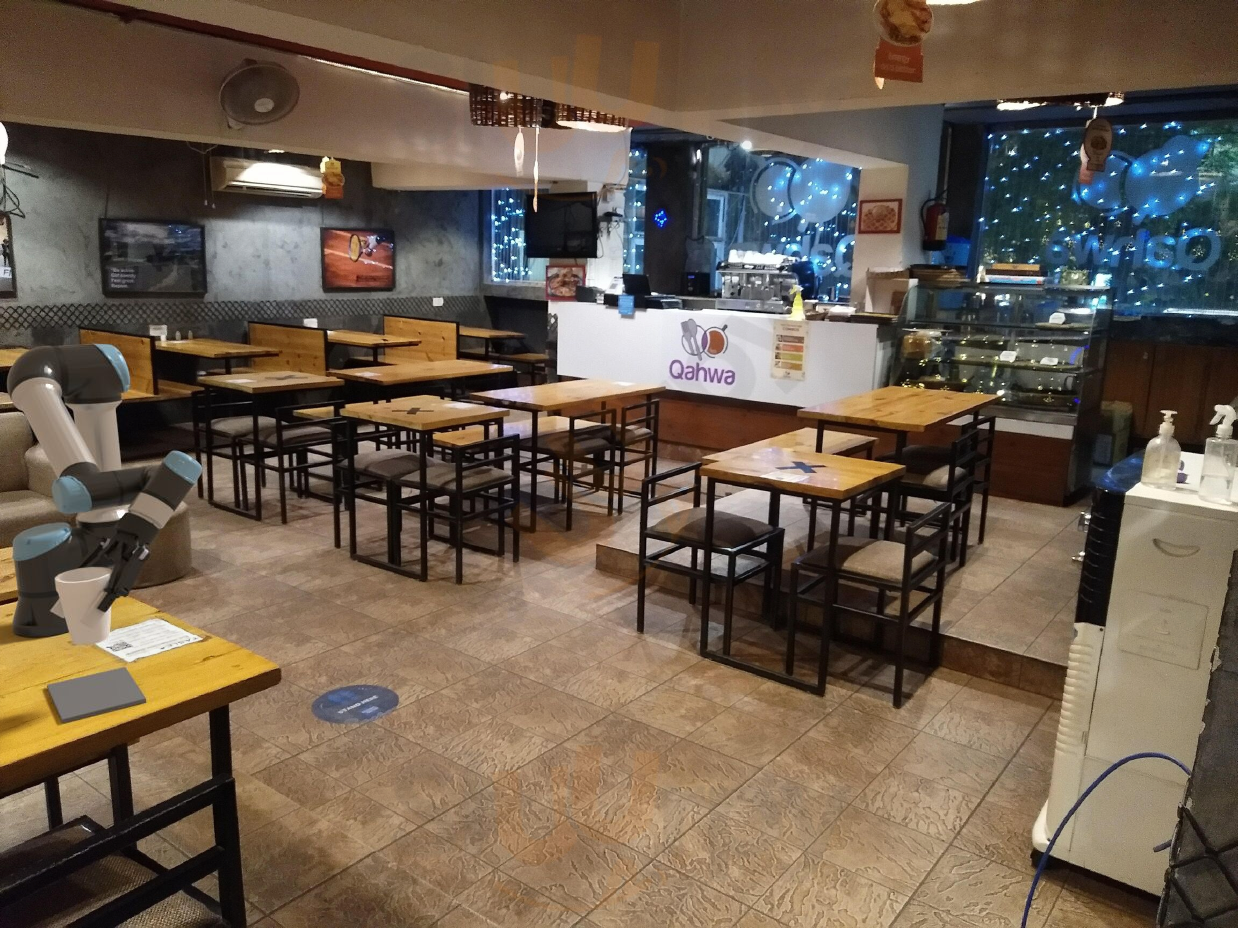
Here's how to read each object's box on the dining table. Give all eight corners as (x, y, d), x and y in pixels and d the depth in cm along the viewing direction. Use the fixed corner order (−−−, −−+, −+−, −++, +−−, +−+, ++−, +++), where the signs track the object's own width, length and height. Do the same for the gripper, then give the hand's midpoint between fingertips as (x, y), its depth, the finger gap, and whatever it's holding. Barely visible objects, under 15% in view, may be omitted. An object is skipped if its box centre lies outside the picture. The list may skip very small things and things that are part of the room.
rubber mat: (47, 688, 179) (46, 684, 179) (125, 670, 188) (125, 666, 188) (62, 723, 166) (62, 719, 166) (146, 701, 175) (146, 698, 174)
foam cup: (92, 650, 169) (85, 584, 166) (50, 645, 171) (42, 580, 168) (129, 631, 178) (123, 568, 175) (88, 627, 180) (82, 565, 177)
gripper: (191, 539, 178) (120, 640, 168) (125, 522, 189) (55, 617, 179) (163, 518, 173) (89, 622, 163) (97, 503, 184) (23, 599, 173)
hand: (71, 619), depth 171 cm, fingers closed on foam cup, 9 cm apart
